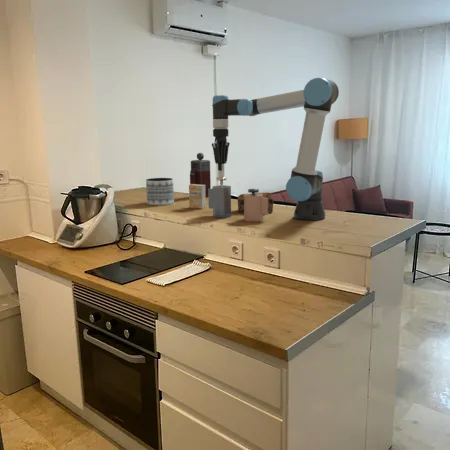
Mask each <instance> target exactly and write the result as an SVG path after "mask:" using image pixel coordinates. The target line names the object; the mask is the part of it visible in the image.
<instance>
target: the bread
mask: <svg viewBox="0 0 450 450" xmlns="http://www.w3.org/2000/svg"><path fill="white" fill-rule="evenodd" d="M245 194H246V193H242V194H241V193H240V194H239V195H238V196H237V209H238V210H237V212H238V214H242V213H243V214H244V195H245ZM255 194H263V197H264V198H268V214H269V213H272V212H274V210H273V209H274V195H273V193H272V192H267V191H266V192H257V193H255Z"/></svg>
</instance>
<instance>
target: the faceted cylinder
mask: <svg viewBox="0 0 450 450" xmlns="http://www.w3.org/2000/svg"><path fill="white" fill-rule="evenodd" d="M207 198H208V209H211V210H212V217H214V218H218V219H227V218H230V217H232V186H231V185H226V184H225V185H224V184H223V187H220V184H219V185H213V186H212V187H211V189H208V197H207Z"/></svg>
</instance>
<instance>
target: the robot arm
mask: <svg viewBox="0 0 450 450" xmlns="http://www.w3.org/2000/svg"><path fill="white" fill-rule="evenodd" d="M303 88H304V89H300V90H294V91H290V92H285V93H279V94H275V95H270V96H265V97H264V96H263V97H259V98H254V99H249V98H236V99H234V98H233V99H229V96H228V95H222V94H221V95H219V94H218V95H214V96H213V97H212V105H211V106H212V129H213V130H212V137H215V138H214V142H212V143H211V147H212V149H213V150H212V152H213V158H214V163H215V164H217V177H225V164H227V162H228V156H229V147H230V142H228V140H227V137H229V117H231V116H237V117H239V116H243V117H244V116H247V117H255V116H257V115H258V116H259V115H261V114H268V113H273V112H275V113H276V112H279V111H285V110H290V109H296V108H303V110H304V111H305V116H304V117H305V118H304V122H303V128H302V133H301V138H300V144H299V149H298V155H297V160H296V164H295V166H294V167H293V168H292V169H291V171H290V172H291V174H290V178H289V179H288V180H287V182H286V184H285V192H286V194H287V196H288V197H289V198H290V199H291V200H293V201H294V202H296V206H295V208H294V211H293V217H294V219H297V220H301V221H302V220H303V221H317V220H318V221H319V220H323V219H325V218H326V211H325V208H324V204H323V187H324V186H323V181H324V176H323V175H324V173H323V172H322V171H321V170H316V166H317V161H318V156H319V151H320V146H321V141H322V137H323V136H322V135H323V131H324V128H325V126H324V125H325V121H326V117H327V115H328V114H330V113H331V109H332V106H333V104H334V103H335V102H336V101H337V100H338V98H339V95H340V94H339V92H340V91H339V87H338V85H337V84H336V83H335V81H333V80H331V79H328V78H325V77H315V78H312V79H310V80H309V81H308V82H307V83H306V84H305V86H304V87H303Z"/></svg>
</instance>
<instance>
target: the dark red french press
mask: <svg viewBox="0 0 450 450" xmlns="http://www.w3.org/2000/svg"><path fill="white" fill-rule="evenodd" d="M204 156H205V155H204V153H203V152H198V153H197V154H196V158H197V159H193V160H192V159H191V160H190V172H189V185H191V184H198V185H205V197H206V198H208V189H212V187H211V182H212V181H211V161H210V160H209V159H204Z"/></svg>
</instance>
